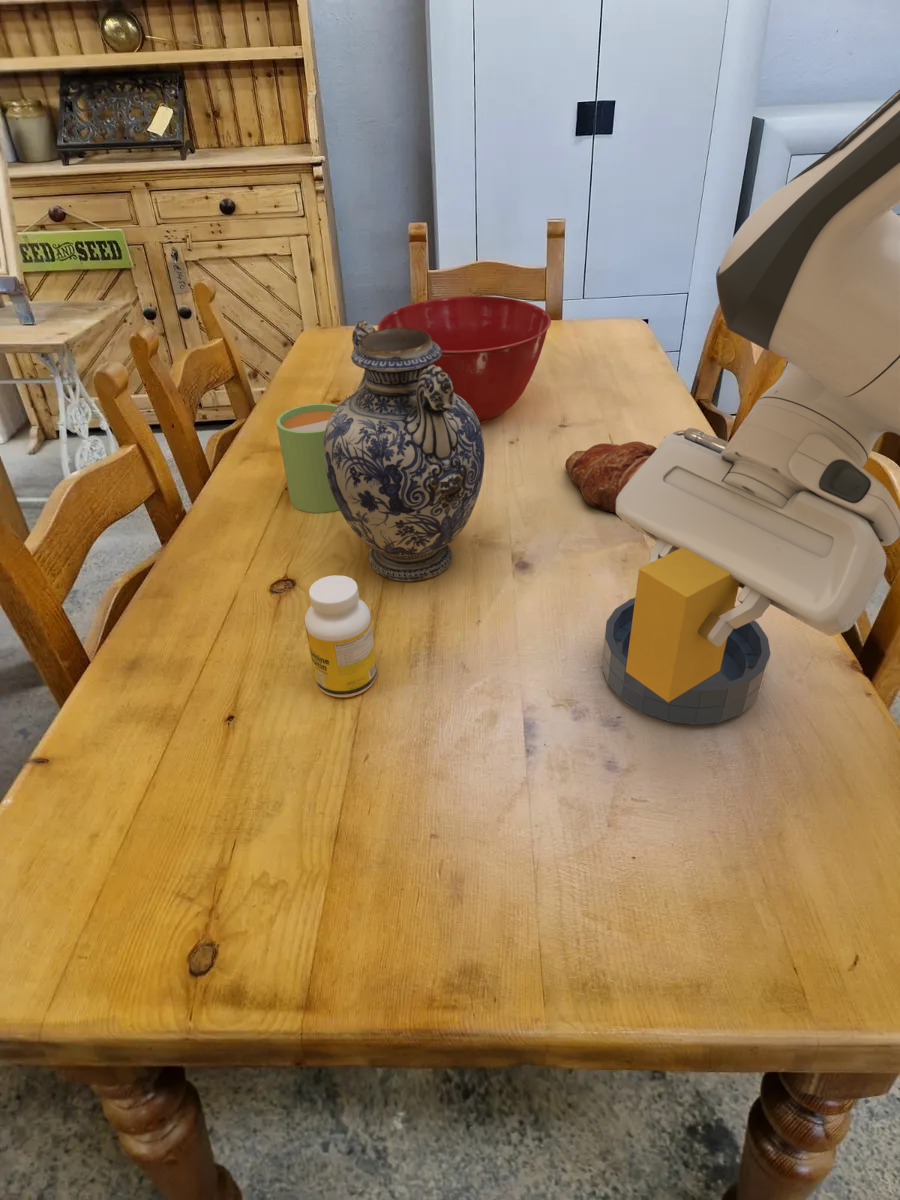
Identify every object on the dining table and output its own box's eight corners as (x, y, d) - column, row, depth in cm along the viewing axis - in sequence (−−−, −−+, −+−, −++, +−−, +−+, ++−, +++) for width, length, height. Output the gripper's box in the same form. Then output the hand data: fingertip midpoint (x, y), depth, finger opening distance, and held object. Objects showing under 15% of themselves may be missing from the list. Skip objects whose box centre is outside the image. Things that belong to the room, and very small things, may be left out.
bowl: (786, 721, 75) (798, 682, 72) (624, 737, 74) (630, 698, 71) (725, 622, 88) (732, 585, 85) (586, 634, 87) (589, 597, 84)
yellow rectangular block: (720, 670, 63) (743, 566, 57) (668, 703, 60) (687, 597, 54) (676, 642, 66) (694, 540, 60) (625, 671, 63) (638, 568, 57)
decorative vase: (520, 575, 97) (524, 347, 80) (385, 626, 89) (359, 387, 73) (434, 504, 112) (422, 300, 95) (312, 543, 104) (277, 329, 88)
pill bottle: (317, 661, 85) (301, 572, 78) (377, 656, 85) (366, 566, 78) (314, 703, 80) (296, 611, 73) (378, 697, 80) (367, 605, 73)
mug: (372, 501, 113) (363, 422, 106) (302, 519, 110) (288, 439, 103) (342, 466, 122) (332, 392, 115) (276, 482, 119) (262, 406, 112)
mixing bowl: (511, 454, 124) (512, 356, 115) (355, 428, 134) (344, 336, 125) (569, 390, 144) (573, 303, 135) (429, 372, 154) (425, 290, 145)
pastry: (552, 517, 108) (554, 463, 103) (566, 466, 120) (568, 416, 115) (680, 528, 104) (688, 473, 99) (681, 475, 116) (688, 424, 111)
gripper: (661, 402, 63) (563, 547, 64) (911, 501, 49) (779, 683, 50) (691, 438, 67) (598, 573, 69) (927, 538, 54) (805, 704, 55)
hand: (676, 621), depth 59 cm, fingers closed on yellow rectangular block, 4 cm apart
